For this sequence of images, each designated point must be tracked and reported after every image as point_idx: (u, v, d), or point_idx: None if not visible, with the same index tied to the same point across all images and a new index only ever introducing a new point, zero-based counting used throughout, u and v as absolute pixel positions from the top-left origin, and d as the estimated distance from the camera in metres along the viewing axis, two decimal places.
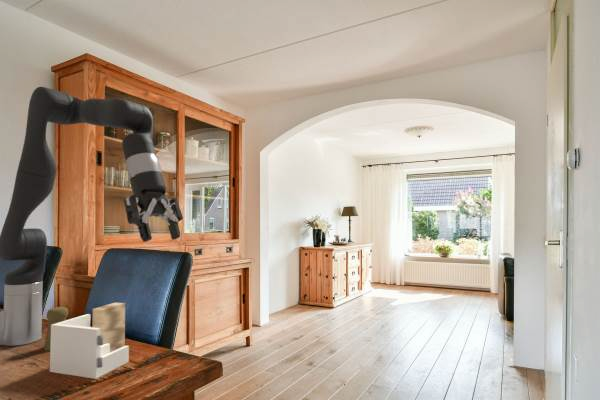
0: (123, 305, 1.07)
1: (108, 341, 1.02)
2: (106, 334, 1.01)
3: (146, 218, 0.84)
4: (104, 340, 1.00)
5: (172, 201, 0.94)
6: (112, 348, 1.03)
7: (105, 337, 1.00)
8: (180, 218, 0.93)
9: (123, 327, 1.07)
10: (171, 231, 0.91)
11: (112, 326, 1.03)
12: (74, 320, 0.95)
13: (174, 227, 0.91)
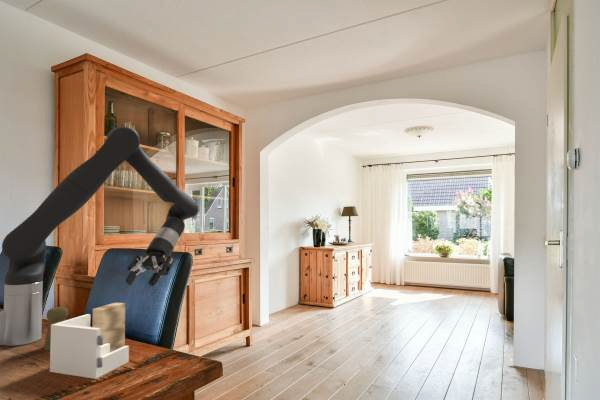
0: (123, 305, 1.07)
1: (108, 341, 1.02)
2: (106, 334, 1.01)
3: None
4: (104, 340, 1.00)
5: None
6: (112, 348, 1.03)
7: (105, 337, 1.00)
8: None
9: (123, 327, 1.07)
10: (131, 277, 1.18)
11: (112, 326, 1.03)
12: (74, 320, 0.95)
13: (134, 278, 1.19)
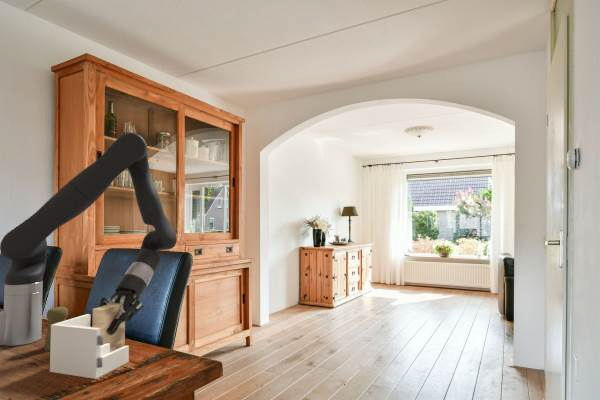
0: None
1: (108, 341, 1.02)
2: (106, 334, 1.01)
3: None
4: (104, 340, 1.00)
5: None
6: (112, 348, 1.03)
7: (105, 337, 1.00)
8: None
9: (123, 327, 1.07)
10: None
11: None
12: (74, 320, 0.95)
13: None
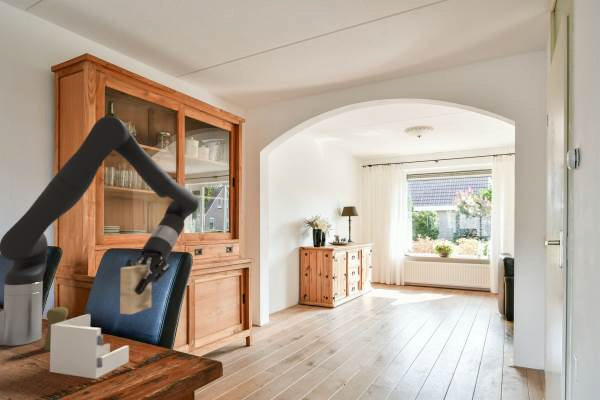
0: None
1: (136, 300, 1.01)
2: (134, 293, 1.00)
3: None
4: (132, 299, 0.99)
5: None
6: (140, 308, 1.02)
7: (133, 296, 0.99)
8: None
9: (150, 288, 1.06)
10: None
11: None
12: (74, 320, 0.95)
13: None
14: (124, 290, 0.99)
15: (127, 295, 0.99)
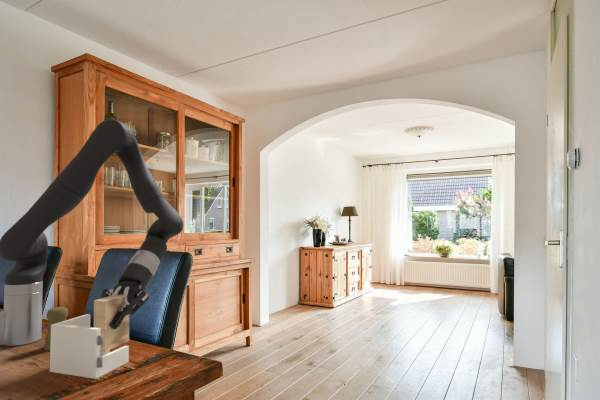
0: None
1: (111, 336, 0.92)
2: (109, 328, 0.91)
3: None
4: (107, 335, 0.91)
5: None
6: (115, 344, 0.93)
7: (107, 332, 0.91)
8: None
9: (127, 321, 0.97)
10: None
11: None
12: (74, 320, 0.95)
13: None
14: (97, 324, 0.91)
15: (101, 330, 0.90)
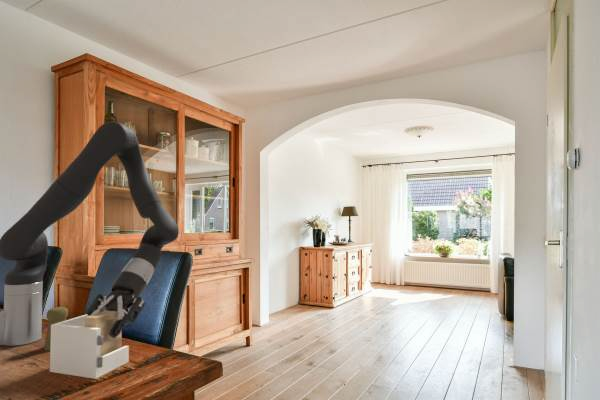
0: None
1: (102, 353, 0.90)
2: (100, 346, 0.89)
3: None
4: None
5: None
6: None
7: None
8: None
9: (120, 337, 0.95)
10: None
11: (107, 336, 0.91)
12: (74, 320, 0.95)
13: None
14: None
15: None
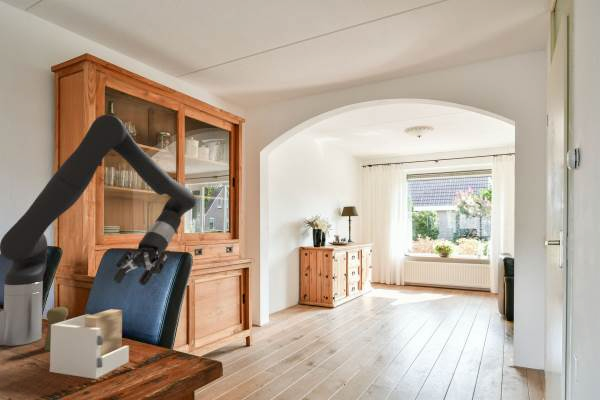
0: (120, 312, 0.95)
1: (102, 353, 0.90)
2: (100, 346, 0.89)
3: None
4: None
5: (131, 256, 1.13)
6: None
7: None
8: None
9: (120, 337, 0.95)
10: (120, 274, 1.07)
11: (107, 336, 0.91)
12: (74, 320, 0.95)
13: (123, 275, 1.08)
14: None
15: None
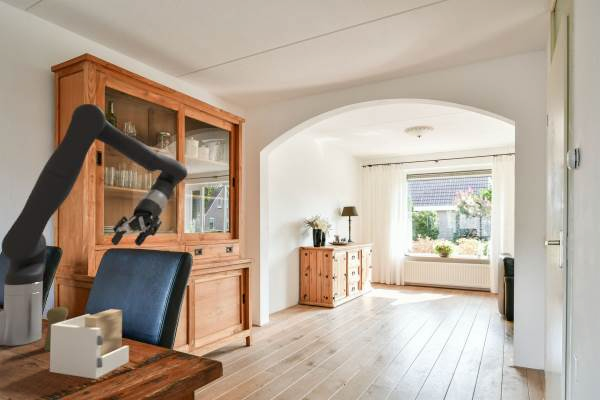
0: (120, 312, 0.95)
1: (102, 353, 0.90)
2: (100, 346, 0.89)
3: None
4: None
5: None
6: None
7: None
8: None
9: (120, 337, 0.95)
10: (117, 237, 1.15)
11: (107, 336, 0.91)
12: (74, 320, 0.95)
13: (120, 238, 1.16)
14: None
15: None
